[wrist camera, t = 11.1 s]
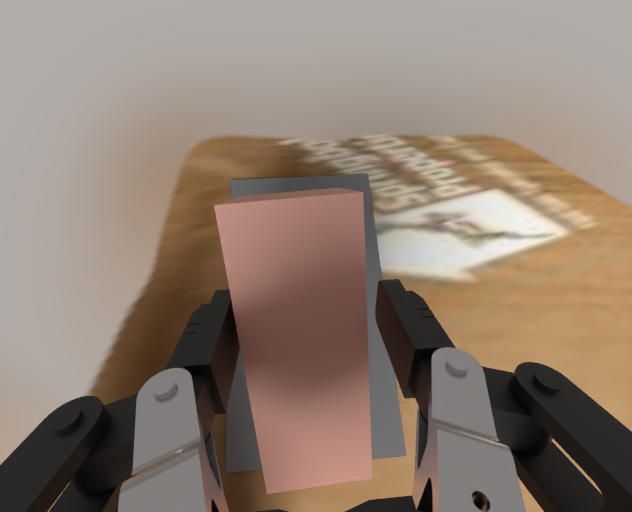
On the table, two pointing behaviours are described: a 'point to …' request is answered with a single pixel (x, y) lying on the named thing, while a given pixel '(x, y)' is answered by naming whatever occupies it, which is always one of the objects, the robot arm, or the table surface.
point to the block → (302, 331)
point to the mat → (381, 373)
